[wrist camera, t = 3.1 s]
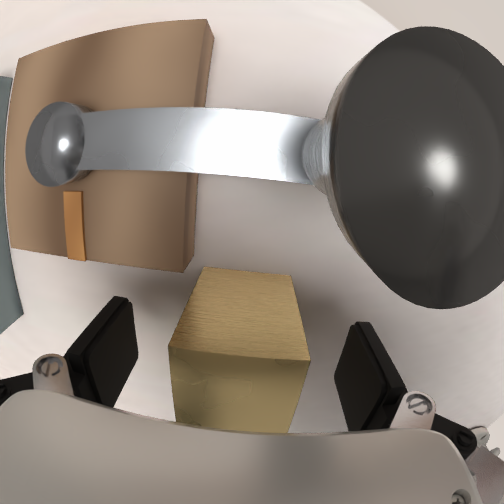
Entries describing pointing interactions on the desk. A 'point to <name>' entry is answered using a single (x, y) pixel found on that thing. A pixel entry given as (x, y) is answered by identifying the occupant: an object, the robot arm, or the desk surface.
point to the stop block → (239, 353)
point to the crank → (342, 158)
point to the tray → (3, 281)
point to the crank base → (109, 181)
